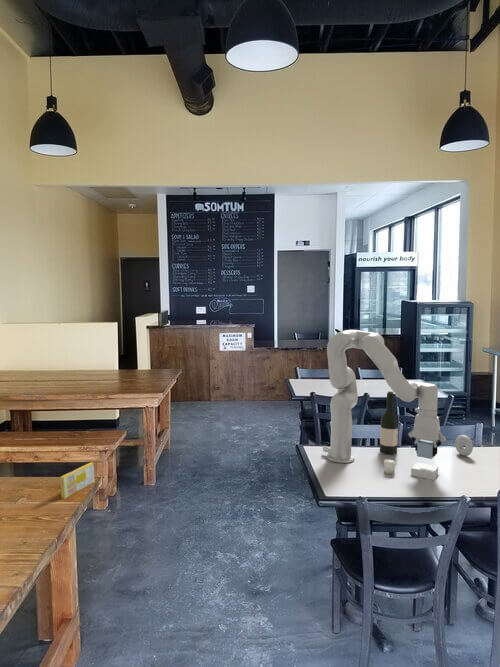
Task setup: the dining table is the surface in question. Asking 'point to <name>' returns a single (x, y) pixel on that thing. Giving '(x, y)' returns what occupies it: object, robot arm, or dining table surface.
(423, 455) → the slate cube
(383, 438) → the wine bottle
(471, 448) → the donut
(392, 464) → the cream cap
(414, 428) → the robot arm
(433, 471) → the plinth
